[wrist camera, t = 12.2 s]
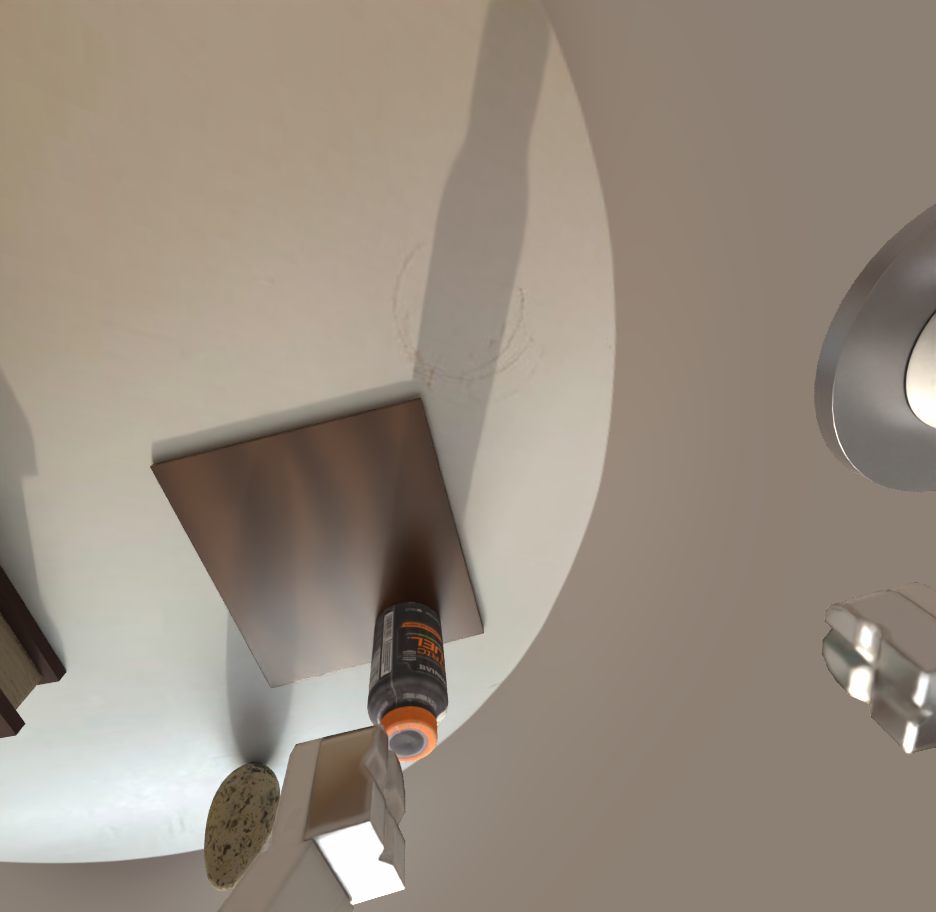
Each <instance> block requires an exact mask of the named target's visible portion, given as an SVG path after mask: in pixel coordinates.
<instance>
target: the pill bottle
mask: <svg viewBox="0 0 936 912" xmlns="http://www.w3.org/2000/svg"><path fill="white" fill-rule="evenodd" d="M447 707H448V694H447V684H446V673H445V660H444V650H443V638H442V626H441V621H440V619H439V617H438V615H437V614H436V613H435V612H434V611H433V610H432V609H431V608H430V607H428V606H426V605H423V604H420V603H415V602H404V603H399V604H395V605H393V606H391V607H389V608H387V609H386V610H385V611H384V612H383V613H382V614H381V615H380V616H379V617H378V619H377V621H376V623H375V627H374V637H373V649H372V660H371V672H370V684H369V696H368V706H367V708H368V714H369V717H370V720H371V722H372V723H373V725H378V724H383V726H384V728H385V730H386V732H387V734H388V749H389V750H391V751H393V752H395V753H396V755H397V757H398V759H399V761H403V762H410V761H415V760H418V759H421V758H423V757H425V756H427V755H428V754H429V753H430V752H431V751H432V750H433V749H434V747H435V746H436V743H437V726H438V725H439V724H440V723H441V721H442V720H443V718H444V716H445V714H446V711H447Z"/></svg>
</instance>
